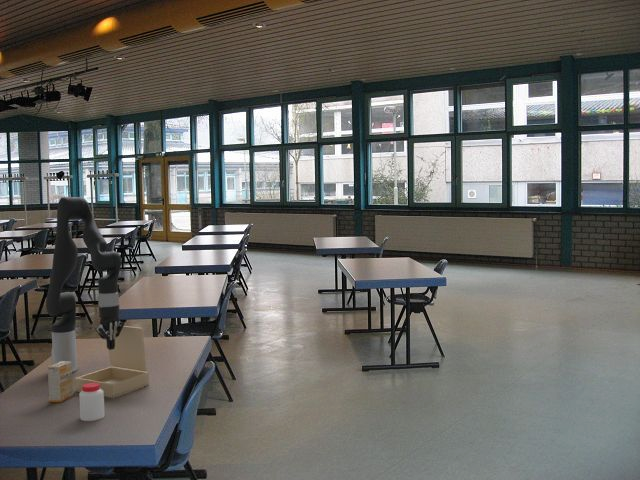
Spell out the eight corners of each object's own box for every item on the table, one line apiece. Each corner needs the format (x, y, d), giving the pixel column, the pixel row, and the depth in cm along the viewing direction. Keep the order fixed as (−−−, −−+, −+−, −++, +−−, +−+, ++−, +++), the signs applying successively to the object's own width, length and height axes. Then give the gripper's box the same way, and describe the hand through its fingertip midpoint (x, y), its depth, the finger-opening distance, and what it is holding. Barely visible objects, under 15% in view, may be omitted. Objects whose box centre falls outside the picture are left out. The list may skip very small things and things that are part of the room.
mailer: (75, 391, 254) (75, 378, 254) (111, 378, 270) (111, 366, 269) (113, 398, 244) (113, 384, 244) (148, 385, 260) (148, 372, 259)
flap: (105, 324, 266) (107, 323, 266) (110, 365, 268) (111, 365, 269) (141, 328, 256) (142, 327, 257) (146, 371, 259) (147, 370, 260)
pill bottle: (83, 413, 228) (82, 382, 227) (107, 412, 228) (105, 381, 227) (77, 421, 220) (75, 388, 219) (101, 420, 221) (100, 387, 220)
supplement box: (60, 402, 240) (59, 366, 239) (48, 402, 241) (46, 366, 240) (73, 395, 248) (72, 360, 247) (62, 395, 249) (60, 360, 248)
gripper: (114, 300, 262) (116, 344, 263) (88, 306, 251) (90, 352, 252) (129, 302, 258) (131, 346, 260) (102, 307, 247) (104, 354, 248)
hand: (111, 349), depth 256 cm, fingers closed
